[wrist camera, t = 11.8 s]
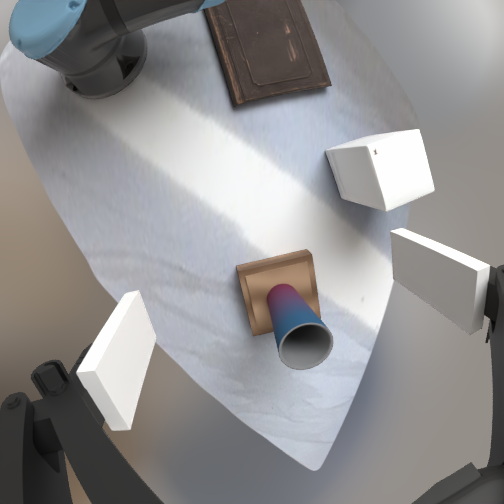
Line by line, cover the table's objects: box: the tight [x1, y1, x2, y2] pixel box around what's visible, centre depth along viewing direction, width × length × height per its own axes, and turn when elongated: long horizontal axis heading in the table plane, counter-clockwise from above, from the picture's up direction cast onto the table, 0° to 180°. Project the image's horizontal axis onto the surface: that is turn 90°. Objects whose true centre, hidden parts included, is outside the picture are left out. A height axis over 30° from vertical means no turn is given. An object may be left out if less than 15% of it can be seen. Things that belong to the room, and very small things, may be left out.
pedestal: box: [237, 249, 321, 336], centre depth 51 cm, size 12×12×3 cm
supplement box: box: [325, 129, 435, 212], centre depth 41 cm, size 9×9×15 cm
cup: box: [267, 284, 333, 370], centre depth 42 cm, size 7×7×15 cm
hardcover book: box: [204, 0, 332, 107], centre depth 40 cm, size 16×23×2 cm
